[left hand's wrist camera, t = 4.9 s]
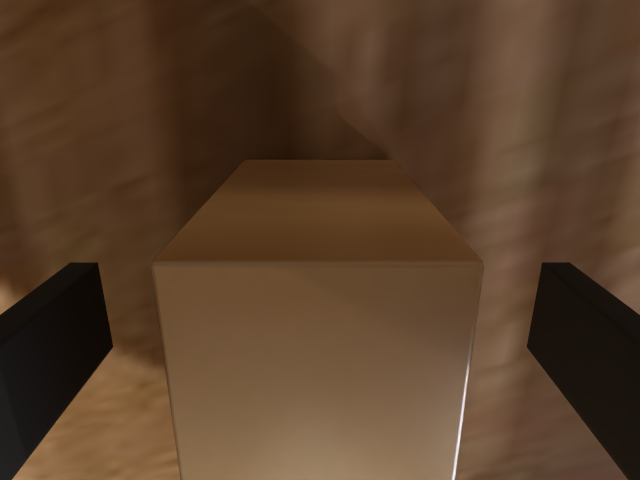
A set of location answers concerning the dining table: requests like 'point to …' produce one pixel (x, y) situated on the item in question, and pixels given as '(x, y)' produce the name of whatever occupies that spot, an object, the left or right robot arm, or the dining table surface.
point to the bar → (317, 326)
